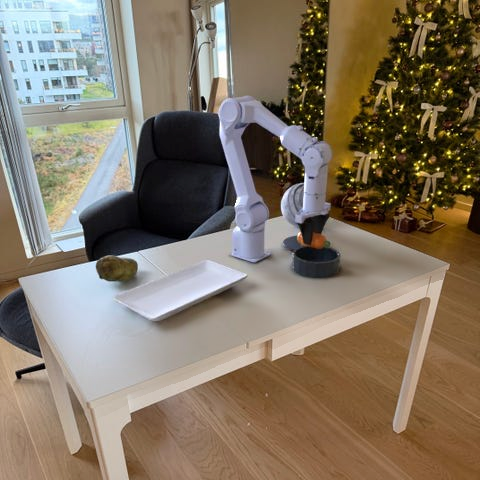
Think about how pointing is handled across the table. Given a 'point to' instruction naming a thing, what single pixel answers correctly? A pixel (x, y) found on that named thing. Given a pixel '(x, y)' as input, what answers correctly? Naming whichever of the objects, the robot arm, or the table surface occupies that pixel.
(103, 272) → the potato
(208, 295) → the tray
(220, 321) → the table surface
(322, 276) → the pan
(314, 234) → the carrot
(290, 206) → the decorative orb
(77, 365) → the table surface
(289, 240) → the lid
